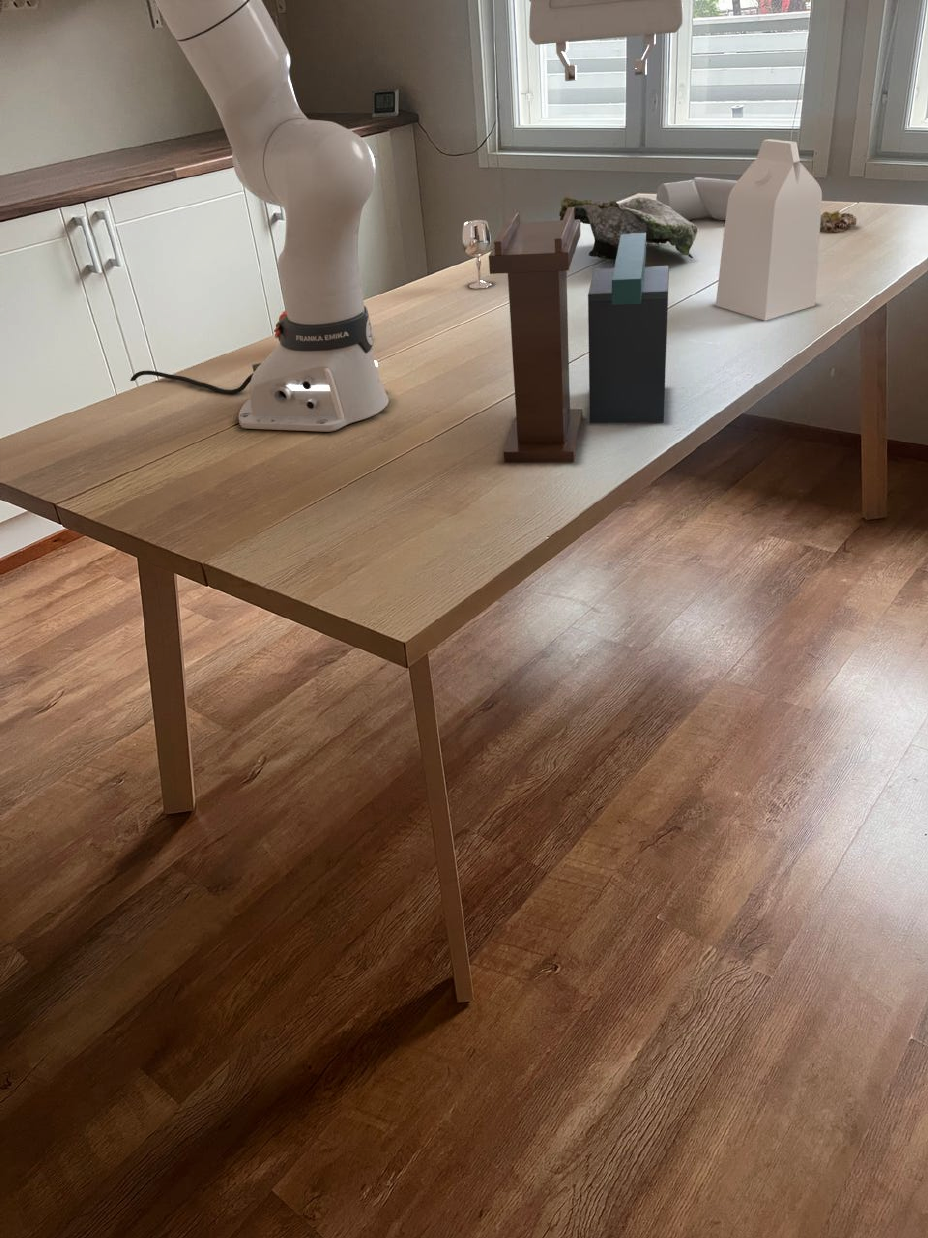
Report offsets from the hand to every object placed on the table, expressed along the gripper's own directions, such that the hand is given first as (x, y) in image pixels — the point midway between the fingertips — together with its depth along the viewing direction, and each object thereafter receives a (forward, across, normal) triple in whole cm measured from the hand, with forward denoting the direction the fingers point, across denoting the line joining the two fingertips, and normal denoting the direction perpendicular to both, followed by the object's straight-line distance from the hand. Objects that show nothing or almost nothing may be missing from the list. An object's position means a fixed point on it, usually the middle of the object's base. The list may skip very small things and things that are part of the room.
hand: (605, 77), depth 130 cm
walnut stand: (+39, -6, -32) cm, 51 cm away
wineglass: (+39, -28, +44) cm, 65 cm away
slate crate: (+39, +4, -20) cm, 44 cm away
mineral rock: (+39, +43, +78) cm, 98 cm away
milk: (+39, +26, +24) cm, 53 cm away
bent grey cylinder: (+39, +18, +91) cm, 101 cm away
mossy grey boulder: (+39, +1, +60) cm, 72 cm away
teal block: (+22, +4, -20) cm, 29 cm away
